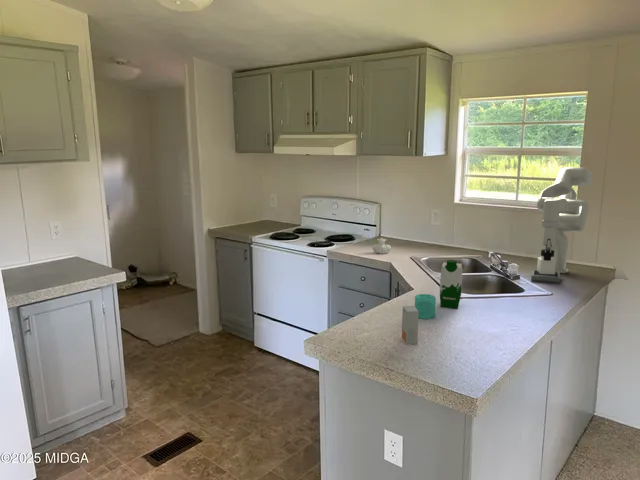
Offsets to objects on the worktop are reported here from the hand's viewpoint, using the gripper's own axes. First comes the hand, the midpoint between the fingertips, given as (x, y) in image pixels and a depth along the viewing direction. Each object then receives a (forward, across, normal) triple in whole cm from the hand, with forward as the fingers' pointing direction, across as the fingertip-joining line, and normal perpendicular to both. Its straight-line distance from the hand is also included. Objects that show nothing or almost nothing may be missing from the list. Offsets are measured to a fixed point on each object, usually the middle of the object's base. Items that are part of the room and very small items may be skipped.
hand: (547, 258), depth 245 cm
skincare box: (+12, +107, -43) cm, 116 cm away
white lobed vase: (+11, -25, -95) cm, 99 cm away
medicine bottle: (+8, 0, 0) cm, 8 cm away
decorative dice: (+12, +79, -44) cm, 91 cm away
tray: (+11, 0, 0) cm, 11 cm away
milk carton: (+12, +62, -37) cm, 73 cm away
